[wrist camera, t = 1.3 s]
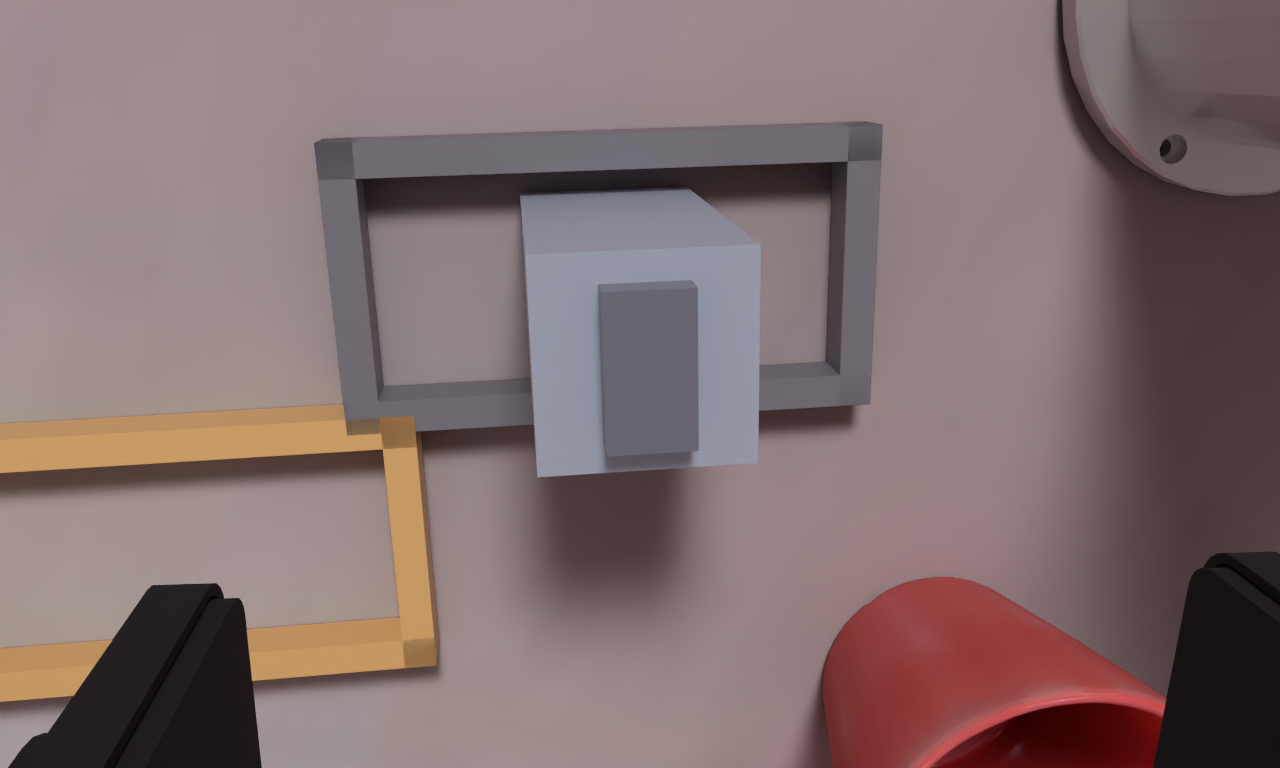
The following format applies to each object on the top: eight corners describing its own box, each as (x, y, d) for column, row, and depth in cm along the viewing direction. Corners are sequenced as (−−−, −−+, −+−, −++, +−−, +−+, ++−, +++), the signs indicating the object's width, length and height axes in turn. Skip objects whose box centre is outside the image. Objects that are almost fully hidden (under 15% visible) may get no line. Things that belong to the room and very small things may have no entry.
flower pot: (799, 526, 36) (898, 690, 27) (1099, 541, 38) (1290, 701, 28) (755, 791, 39) (832, 1020, 30) (1035, 794, 41) (1189, 1012, 32)
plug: (686, 186, 32) (769, 251, 22) (687, 346, 34) (766, 476, 23) (519, 192, 32) (525, 262, 21) (529, 355, 33) (538, 491, 23)
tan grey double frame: (866, 121, 32) (883, 125, 31) (846, 608, 37) (859, 630, 36) (-204, 155, 29) (-241, 160, 28) (-69, 681, 34) (-94, 709, 33)
